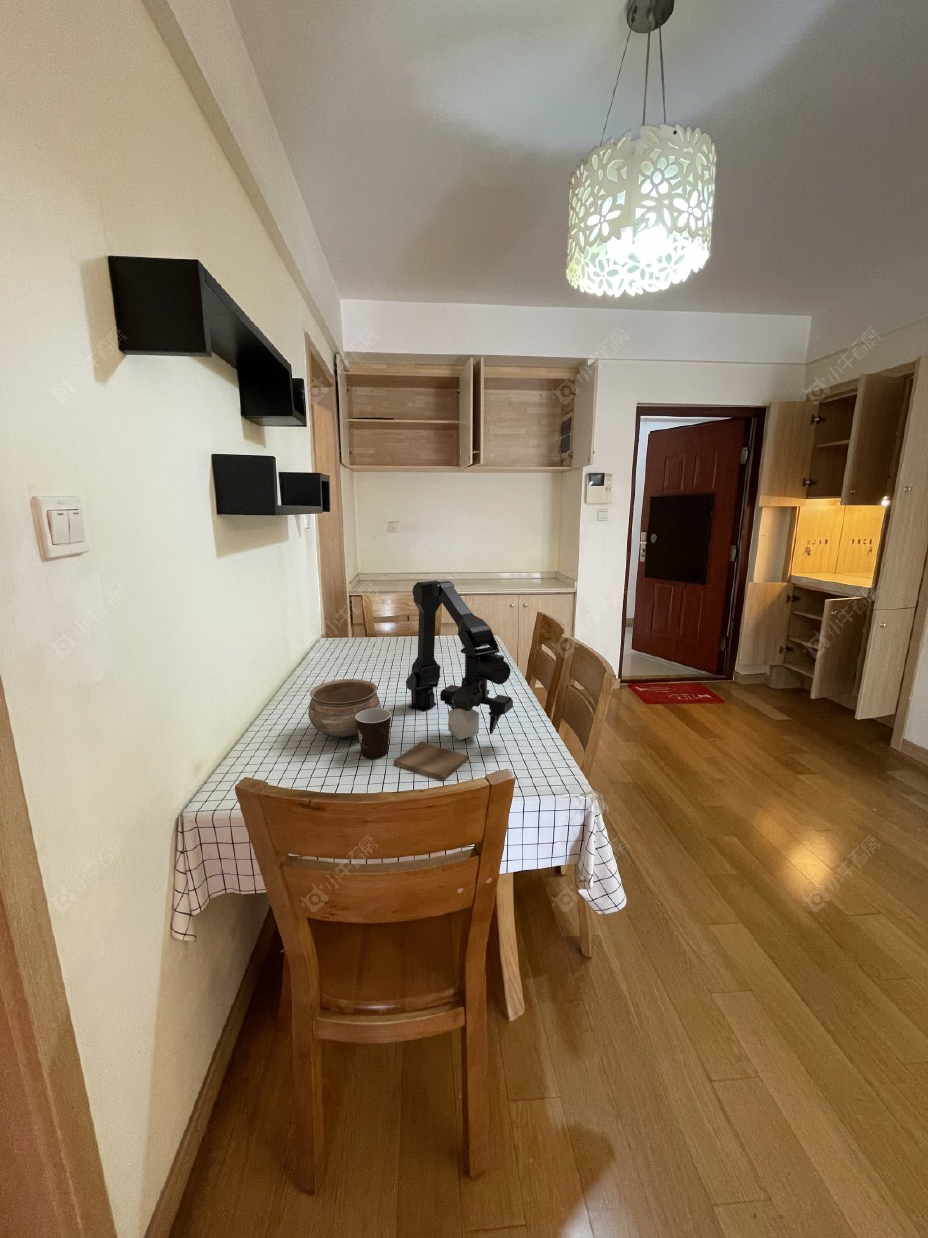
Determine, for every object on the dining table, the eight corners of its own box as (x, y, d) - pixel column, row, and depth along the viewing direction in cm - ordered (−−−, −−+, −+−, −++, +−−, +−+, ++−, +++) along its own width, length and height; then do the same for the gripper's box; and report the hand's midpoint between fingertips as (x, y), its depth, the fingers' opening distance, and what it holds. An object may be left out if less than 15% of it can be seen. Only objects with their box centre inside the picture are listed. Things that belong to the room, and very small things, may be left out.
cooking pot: (332, 712, 145) (329, 673, 142) (393, 716, 142) (391, 676, 139) (291, 752, 121) (287, 706, 118) (363, 757, 118) (361, 711, 115)
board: (394, 765, 115) (394, 760, 114) (421, 746, 124) (420, 741, 124) (443, 781, 108) (443, 776, 107) (468, 760, 117) (468, 755, 117)
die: (489, 735, 128) (483, 705, 123) (462, 753, 124) (455, 721, 119) (471, 722, 134) (464, 692, 130) (444, 737, 130) (437, 707, 126)
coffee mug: (359, 745, 124) (357, 709, 122) (393, 744, 125) (392, 707, 123) (353, 768, 113) (351, 729, 111) (390, 767, 114) (389, 727, 111)
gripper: (427, 675, 121) (428, 733, 124) (494, 689, 112) (493, 751, 115) (451, 663, 130) (451, 717, 133) (514, 675, 121) (513, 733, 124)
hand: (475, 729), depth 126 cm, fingers open, 9 cm apart
